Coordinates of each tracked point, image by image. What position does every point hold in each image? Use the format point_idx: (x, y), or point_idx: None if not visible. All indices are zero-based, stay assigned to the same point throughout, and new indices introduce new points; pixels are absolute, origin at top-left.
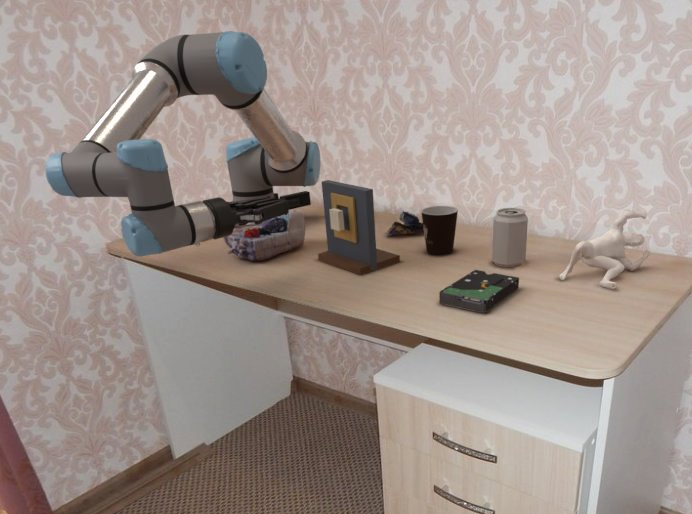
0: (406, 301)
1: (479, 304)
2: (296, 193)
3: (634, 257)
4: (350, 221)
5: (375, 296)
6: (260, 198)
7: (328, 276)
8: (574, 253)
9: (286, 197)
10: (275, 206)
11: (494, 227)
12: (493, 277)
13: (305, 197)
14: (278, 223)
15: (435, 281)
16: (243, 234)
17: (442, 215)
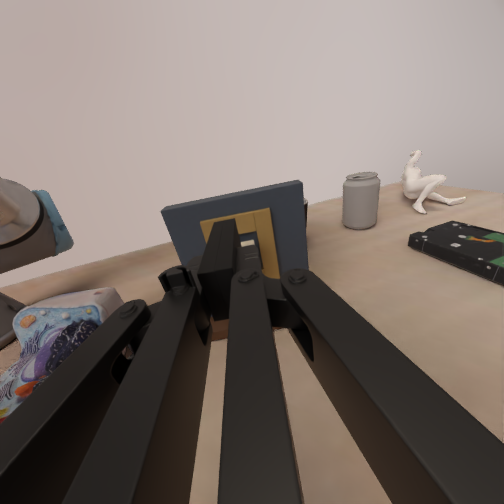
0: (490, 317)
1: None
2: (217, 235)
3: (381, 192)
4: (265, 252)
5: (450, 344)
6: (94, 356)
7: (290, 365)
8: (435, 186)
9: (233, 261)
10: (392, 355)
11: (360, 194)
12: (447, 230)
13: (237, 237)
14: (82, 337)
15: (392, 268)
16: None
17: (306, 203)
